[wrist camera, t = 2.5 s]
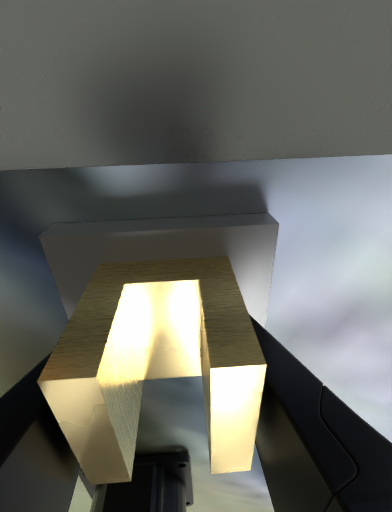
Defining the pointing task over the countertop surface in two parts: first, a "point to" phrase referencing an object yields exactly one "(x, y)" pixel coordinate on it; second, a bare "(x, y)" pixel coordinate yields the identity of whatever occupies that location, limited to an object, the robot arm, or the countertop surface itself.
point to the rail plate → (192, 81)
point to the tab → (165, 250)
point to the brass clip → (155, 360)
